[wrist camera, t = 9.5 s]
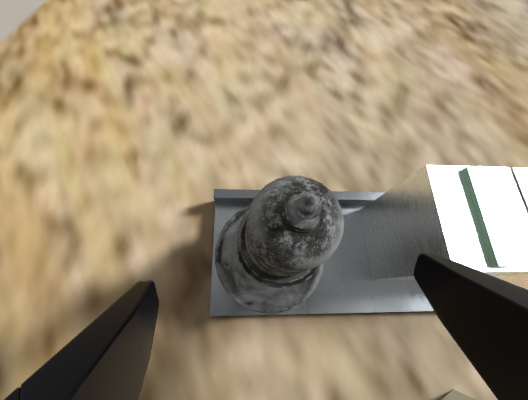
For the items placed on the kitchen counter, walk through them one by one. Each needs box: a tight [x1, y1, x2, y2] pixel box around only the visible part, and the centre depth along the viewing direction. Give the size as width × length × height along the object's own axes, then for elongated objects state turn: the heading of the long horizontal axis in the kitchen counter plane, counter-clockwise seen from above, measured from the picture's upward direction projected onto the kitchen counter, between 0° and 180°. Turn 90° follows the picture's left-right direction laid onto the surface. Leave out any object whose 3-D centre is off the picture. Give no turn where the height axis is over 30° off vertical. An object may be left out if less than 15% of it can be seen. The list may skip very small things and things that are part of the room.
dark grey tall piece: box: [215, 176, 344, 314], centre depth 11 cm, size 6×6×12 cm
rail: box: [210, 165, 528, 316], centre depth 15 cm, size 8×20×8 cm, turn 91°
